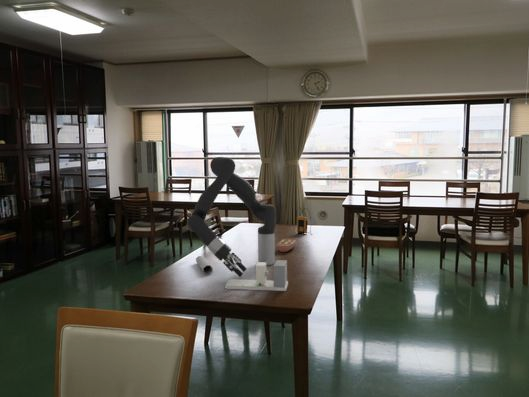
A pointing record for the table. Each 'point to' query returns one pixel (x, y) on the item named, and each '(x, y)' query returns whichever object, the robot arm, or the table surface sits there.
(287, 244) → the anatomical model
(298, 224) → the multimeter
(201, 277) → the table surface
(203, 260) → the tube
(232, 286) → the base
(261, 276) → the block
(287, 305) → the table surface
